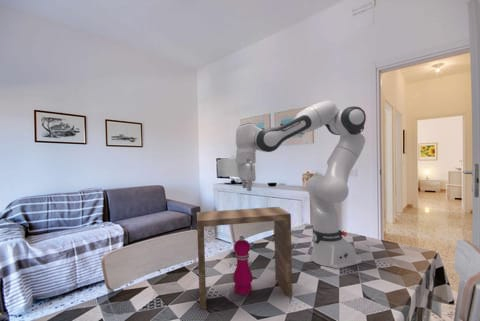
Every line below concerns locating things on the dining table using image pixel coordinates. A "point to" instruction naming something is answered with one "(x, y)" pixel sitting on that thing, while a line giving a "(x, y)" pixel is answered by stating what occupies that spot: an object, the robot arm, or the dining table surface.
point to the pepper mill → (242, 267)
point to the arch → (250, 216)
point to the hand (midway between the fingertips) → (246, 189)
